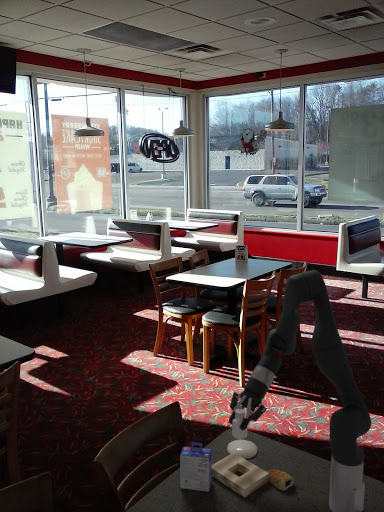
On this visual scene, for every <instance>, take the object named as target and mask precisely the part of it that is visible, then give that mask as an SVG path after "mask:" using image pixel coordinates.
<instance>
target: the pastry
mask: <svg viewBox="0 0 384 512" xmlns="http://www.w3.org/2000/svg"><path fill="white" fill-rule="evenodd" d="M266 472H268V473H269V482H270V483H271V485H273V486H274V487H275V488H276V489H277V490H279V491H281V490H282V491H281V492H283V491H286V490H287V489H289V488H290V487H292V486H294V484H295V480H294V478H293V476H291V475H290V474H289V473H287V472H286V471H282V470H279V469H274V468H273V469H268V470H266Z"/></svg>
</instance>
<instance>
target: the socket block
mask: <svg viewBox="0 0 384 512" xmlns="http://www.w3.org/2000/svg"><path fill="white" fill-rule="evenodd" d="M237 472H240V473H241V475H240V476H238V475H237V474H235V473H237ZM212 478H214V479H215V480H217V481H218V482H221V483H222V484H223V485H225V486H226V487H228V488H230V489H231V490H233V491H234V492H236V493H237V494H238V495H240V496H242V497H243V498H246V497H248V496H249V495H251V494H252V493H253V492H255V491H256V490H258V489H260V488H261V487H263V486H264V485H265V484H267V483H268V482H270V480H269V473H268V472H267V470H264V469H263V468H261V467H259V466H257V465H255V464H254V463H253V462H251V461H249V460H248V459H244V458H242V457H240V456H239V455H237V454H235V453H232V454H228V455H227V456H225V457H224V458H221V459H220V460H219V461H217V462H215V463H212Z"/></svg>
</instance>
